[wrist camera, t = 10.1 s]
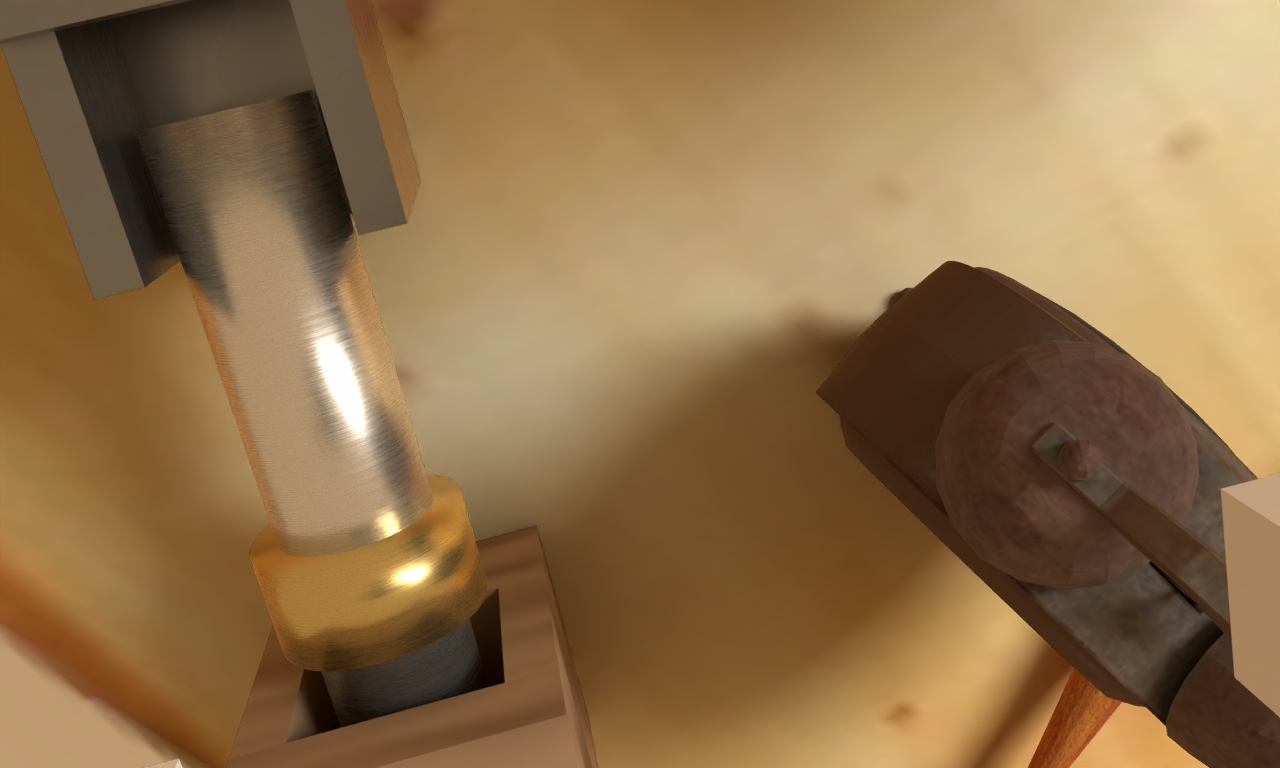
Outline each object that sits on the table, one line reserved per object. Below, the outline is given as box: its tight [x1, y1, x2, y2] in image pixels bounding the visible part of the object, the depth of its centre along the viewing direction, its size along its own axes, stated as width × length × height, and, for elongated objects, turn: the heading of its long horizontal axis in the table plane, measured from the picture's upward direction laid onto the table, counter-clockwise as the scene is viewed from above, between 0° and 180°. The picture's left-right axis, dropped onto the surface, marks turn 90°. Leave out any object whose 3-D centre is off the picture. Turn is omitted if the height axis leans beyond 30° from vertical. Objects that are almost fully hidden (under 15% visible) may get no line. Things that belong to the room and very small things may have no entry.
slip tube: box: [137, 90, 489, 728], centre depth 33 cm, size 19×6×6 cm, turn 13°
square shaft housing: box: [0, 0, 421, 299], centre depth 31 cm, size 11×8×11 cm
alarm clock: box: [816, 261, 1280, 768], centre depth 34 cm, size 14×7×20 cm, turn 46°
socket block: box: [226, 526, 598, 768], centre depth 37 cm, size 8×9×13 cm
